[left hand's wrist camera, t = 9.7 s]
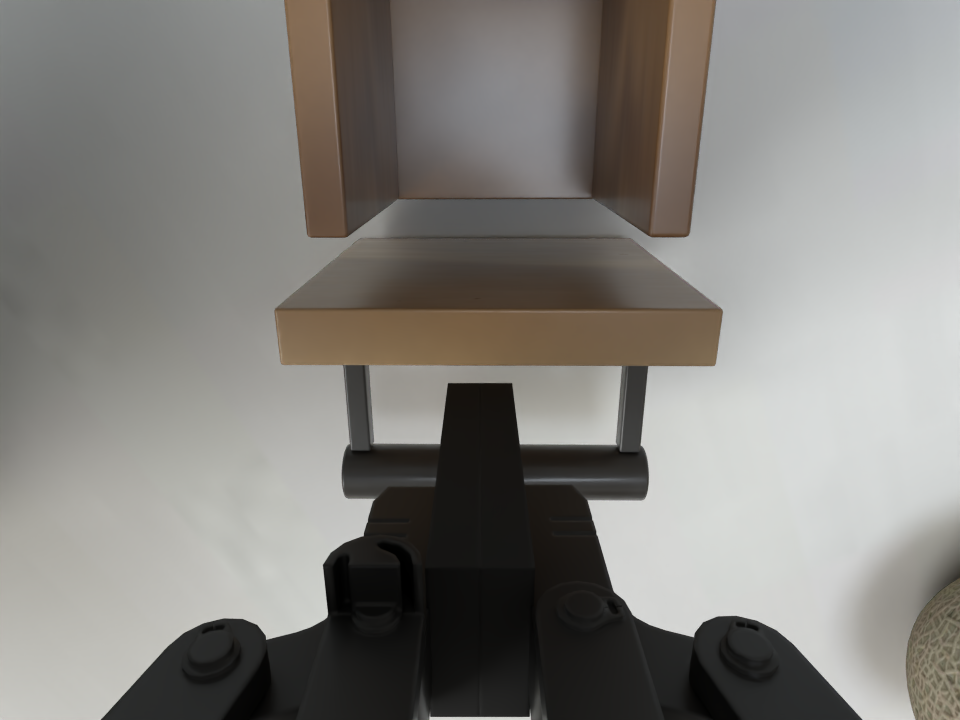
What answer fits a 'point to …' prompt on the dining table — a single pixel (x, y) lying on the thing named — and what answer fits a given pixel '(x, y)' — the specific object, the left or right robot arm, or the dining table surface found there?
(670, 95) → the drawer
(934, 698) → the fruit
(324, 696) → the left robot arm
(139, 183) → the dining table surface
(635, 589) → the dining table surface
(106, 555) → the dining table surface
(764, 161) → the dining table surface
